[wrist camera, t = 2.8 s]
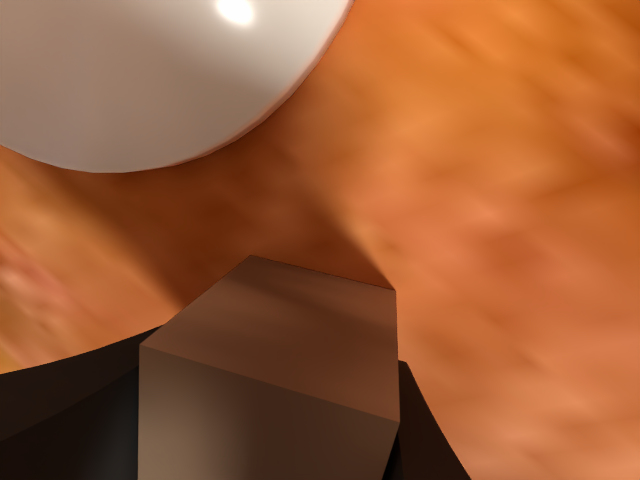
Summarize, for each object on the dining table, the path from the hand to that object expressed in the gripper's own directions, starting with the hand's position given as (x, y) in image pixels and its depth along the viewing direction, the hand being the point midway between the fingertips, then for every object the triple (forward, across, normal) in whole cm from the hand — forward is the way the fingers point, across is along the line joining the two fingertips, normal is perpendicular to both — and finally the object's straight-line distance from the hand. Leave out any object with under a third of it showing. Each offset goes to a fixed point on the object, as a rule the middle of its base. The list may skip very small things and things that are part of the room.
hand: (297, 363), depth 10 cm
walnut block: (+1, 0, 0) cm, 1 cm away
